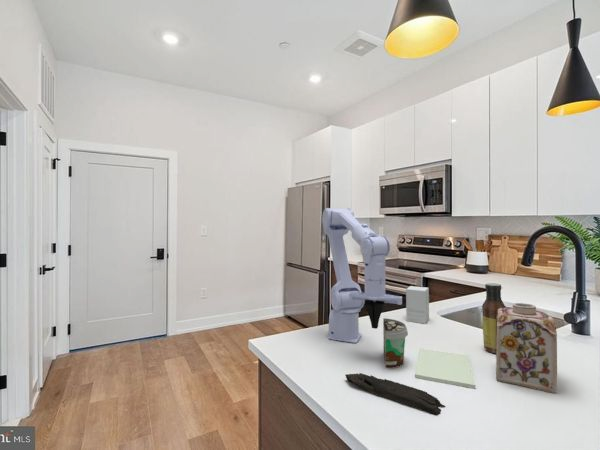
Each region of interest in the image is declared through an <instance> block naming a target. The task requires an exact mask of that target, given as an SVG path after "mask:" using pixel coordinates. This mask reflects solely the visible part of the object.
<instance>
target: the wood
mask: <svg viewBox="0 0 600 450" xmlns="http://www.w3.org/2000/svg"><path fill="white" fill-rule="evenodd" d="M344 375H345V378H346V380H347V381H348V382H352V383H354V384H356V385H358V386H360V387H361V388H363V389H365V390H367V391H368V392H370V393H371V394H373V395H374V396H375V395H376V396H379V397H382V398H387V399H390V400H393V401H396V402H399V403H401V404H403V405H406V406H409V407H411V406H412V408H415V409H417V410H421V411H423V412H425V413H428V414H431V415H433V414H434V416H439V415H440V414H441V412H442V409H441V408H445V407H446V405H444V404H442V403H441V401H440V400H439V398H437V397H435V396H433V395H432V394H430V393H428V392H427V391H425V390H421V389H418V388H415V387H413V386H409V385H407V384H403V383H400V382H396V381H393V380H391V379H390V380H389V379H386V378H384V379H383V378H377V377H375V376H373V375H372V374H371V375H370V374H369V375H368V374H365V373H362V372H361V373H360V372H359V373H348V374H344Z"/></svg>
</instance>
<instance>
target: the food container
mask: <svg viewBox="0 0 600 450" xmlns="http://www.w3.org/2000/svg"><path fill="white" fill-rule="evenodd" d="M382 323H383V326H382V327H383V333H382V334H383V359H384V365H385V368H387V369H388V368H389V369H390V368H392V369H393V367H394V368H398V366H399V367H401V366H402V365H403V364H404V361H405V359H404V358H405V345H406V337H407V336H408V327H407V326H406V324H405V323H404V322H402V321H399V320H397V319H392V318H386V317H385V318H383V322H382ZM400 365H401V366H400Z"/></svg>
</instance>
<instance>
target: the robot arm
mask: <svg viewBox="0 0 600 450" xmlns="http://www.w3.org/2000/svg"><path fill="white" fill-rule="evenodd" d="M321 223H322V227H323V231H324V234H325V235H327V237H328V242H329V248H330V252H331V253H330V254H331V258H332V263H333V268H334V273H335V279H336V283H335V284H334V285H333V286H332V287H331V288H330V303H331V307H332V309H331V310H330V312H329V316H328V338H327V339H328V340H334V341H340V342H346V343H352V344H353V343H354V344H357V343H358V342H359V340H360V339H361V337H363V334H362V333H360V331H359V330H360V329H359V325H360V323H359V316H360V315H359V312H361V311H362V310H361V309H362V308H365V310H366V312H367V315H368V317H369V321H370V324H371V329H378V328H379V323H380V322H379V321H380V318H381V314H382V313H383V310H384V307H385V305H386V304H394V305H395V304H396V305H398V306H402V305H403V296H402V295H401V296H400V295H393V294H388V293H386V257H387V256H388V255H389V253H390V249H391V245H390V241H389V239H388V238H387V237H386V236H384V235H378V234H376V232H375V231H374V230H372V229H371V228H370V227H369V225H368V224H367V223H360V222H359V221H358V220H357V218H356V217H355V213H354V210H352V209H351V208H349V207H347V208H330V207H326V208H324V210H323V212H322V218H321ZM349 231H350V232H351V238H352V239H353V240H354V241H355V242H356V243H357V244H358V245H359V246H360V252H361V256H362V262H363V263H364V292H362V290H361V287H360V284H358V283H357V282H355V281H354V280H353V277H352V274H351V270H350V265H349V259H348V256H347V255H348V254H347V251H346V246H345V240H344V236H345V235H347V234H348V233H349Z"/></svg>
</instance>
